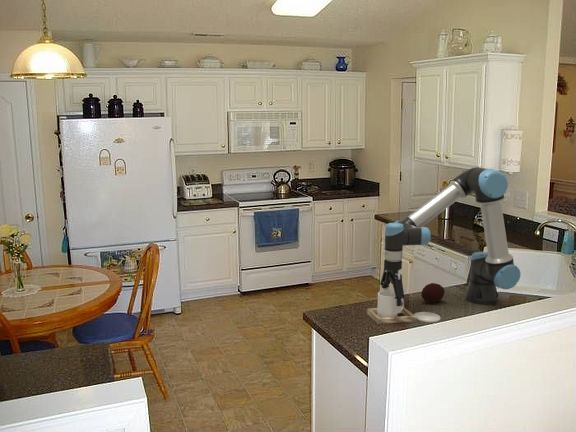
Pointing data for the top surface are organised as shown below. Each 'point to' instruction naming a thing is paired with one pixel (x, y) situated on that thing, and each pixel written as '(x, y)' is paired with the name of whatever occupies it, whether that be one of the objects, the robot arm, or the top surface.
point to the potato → (432, 292)
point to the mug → (386, 304)
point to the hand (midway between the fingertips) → (391, 307)
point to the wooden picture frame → (407, 318)
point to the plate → (427, 317)
